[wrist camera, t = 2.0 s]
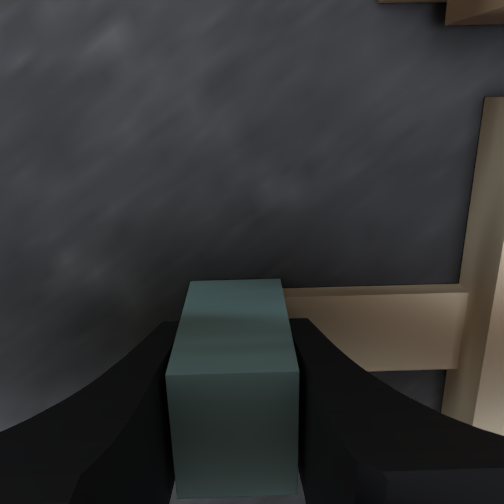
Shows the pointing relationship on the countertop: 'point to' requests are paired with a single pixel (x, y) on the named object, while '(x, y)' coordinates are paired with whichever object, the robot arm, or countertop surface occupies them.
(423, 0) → the beige block
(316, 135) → the countertop surface
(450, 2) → the wooden block
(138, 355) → the robot arm
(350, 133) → the countertop surface
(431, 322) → the wooden frame
